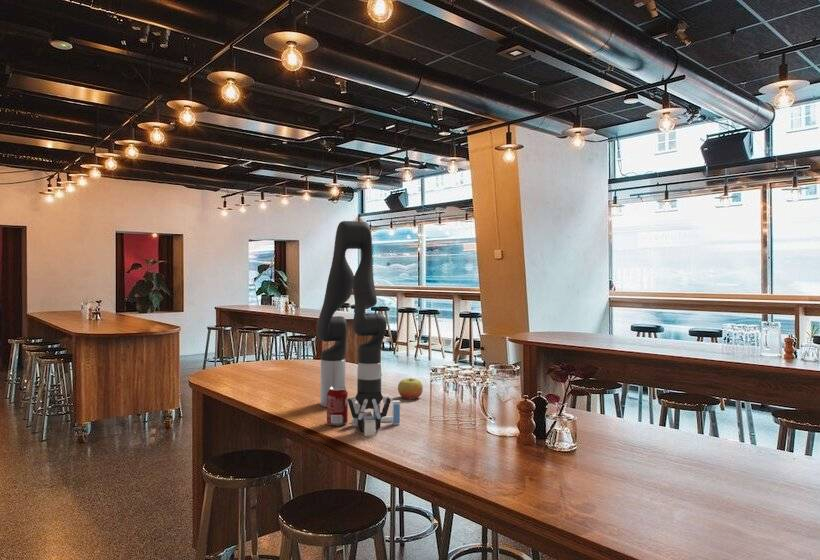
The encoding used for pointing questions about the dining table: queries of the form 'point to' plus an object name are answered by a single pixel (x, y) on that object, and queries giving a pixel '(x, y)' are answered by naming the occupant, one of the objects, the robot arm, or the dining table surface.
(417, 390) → the apple
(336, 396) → the soda can
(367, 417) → the grey rectangular bar
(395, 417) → the upright peg stand
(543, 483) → the dining table surface
